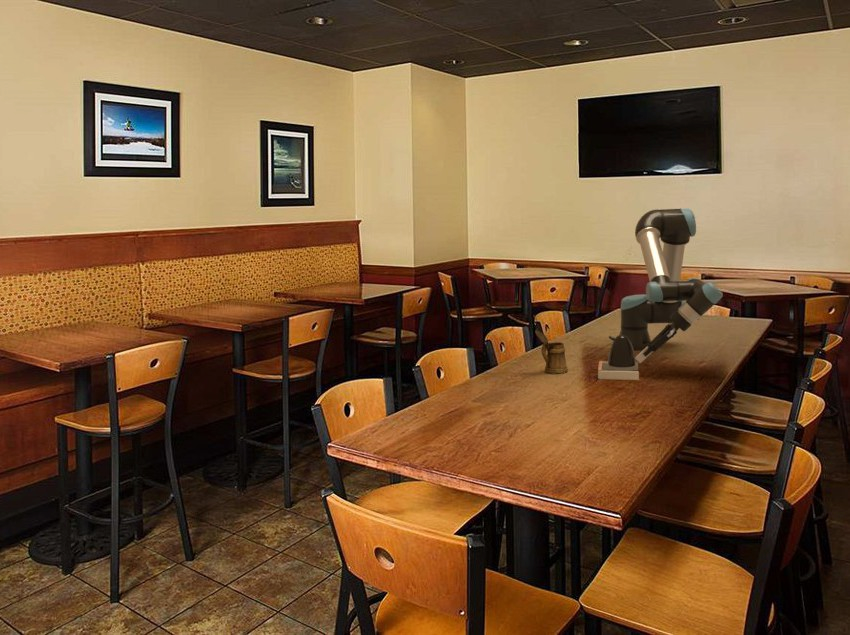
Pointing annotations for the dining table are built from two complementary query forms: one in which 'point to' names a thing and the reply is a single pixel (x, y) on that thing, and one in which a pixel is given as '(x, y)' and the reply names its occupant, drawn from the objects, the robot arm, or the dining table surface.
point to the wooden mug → (553, 355)
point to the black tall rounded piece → (621, 354)
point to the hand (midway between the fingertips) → (637, 360)
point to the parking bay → (617, 372)
